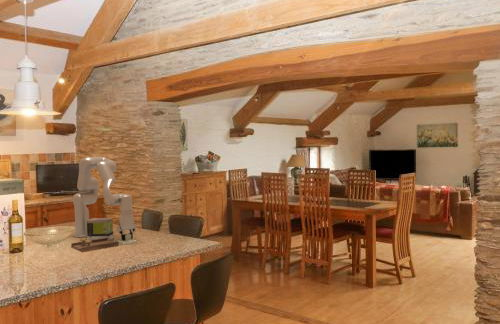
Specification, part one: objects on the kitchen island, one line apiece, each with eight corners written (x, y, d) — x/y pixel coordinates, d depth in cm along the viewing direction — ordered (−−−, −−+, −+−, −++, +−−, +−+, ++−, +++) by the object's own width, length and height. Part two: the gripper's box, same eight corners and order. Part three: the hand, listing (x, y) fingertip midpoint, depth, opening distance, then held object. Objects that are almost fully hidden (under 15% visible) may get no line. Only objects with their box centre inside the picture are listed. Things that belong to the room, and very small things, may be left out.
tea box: (113, 238, 322) (113, 217, 321) (108, 241, 312) (107, 220, 311) (92, 238, 323) (92, 217, 322) (86, 241, 313) (86, 220, 312)
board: (71, 247, 295) (71, 239, 295) (106, 241, 311) (106, 234, 311) (82, 252, 282) (82, 243, 282) (118, 245, 298) (118, 237, 298)
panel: (113, 241, 310) (113, 234, 310) (127, 239, 317) (126, 232, 317) (123, 245, 300) (122, 237, 300) (136, 242, 307) (136, 235, 307)
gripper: (135, 210, 317) (135, 236, 318) (112, 213, 306) (112, 240, 307) (140, 212, 312) (141, 238, 312) (117, 214, 300) (117, 242, 301)
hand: (127, 239), depth 310 cm, fingers open, 4 cm apart
